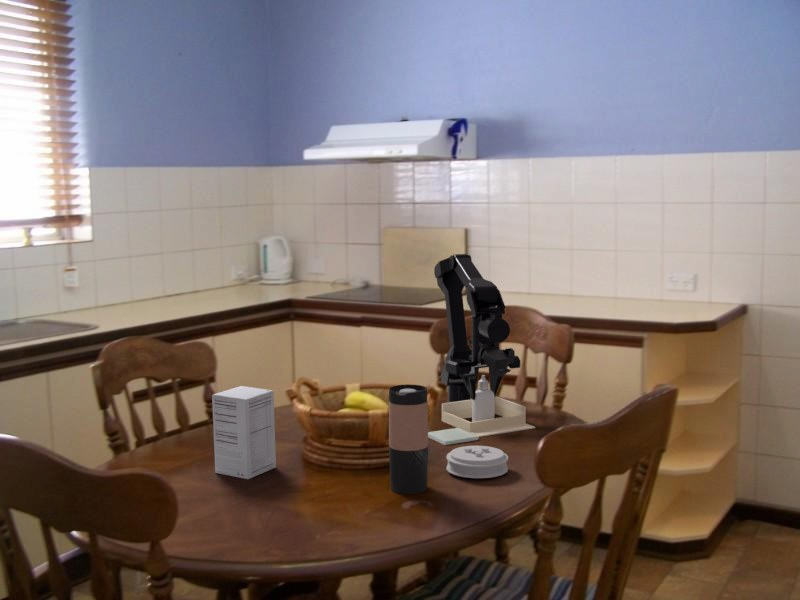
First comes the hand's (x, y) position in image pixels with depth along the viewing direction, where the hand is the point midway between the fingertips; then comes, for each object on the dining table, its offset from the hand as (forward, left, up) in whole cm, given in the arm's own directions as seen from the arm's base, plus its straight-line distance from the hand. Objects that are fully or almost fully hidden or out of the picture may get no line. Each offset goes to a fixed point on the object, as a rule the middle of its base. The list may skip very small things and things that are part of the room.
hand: (483, 398), depth 235 cm
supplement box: (+8, -64, -6) cm, 65 cm away
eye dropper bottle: (0, 0, -6) cm, 6 cm away
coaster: (+8, -14, -6) cm, 17 cm away
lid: (+33, -23, -7) cm, 41 cm away
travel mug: (+35, -40, -6) cm, 54 cm away
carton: (+2, 0, -6) cm, 7 cm away
